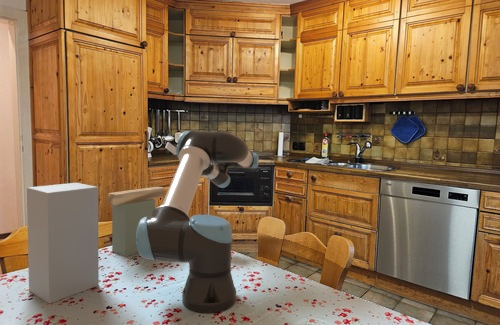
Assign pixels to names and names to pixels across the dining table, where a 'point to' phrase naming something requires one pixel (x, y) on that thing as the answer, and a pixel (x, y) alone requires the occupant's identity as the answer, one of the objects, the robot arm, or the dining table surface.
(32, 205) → the stand
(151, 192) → the tan wooden bar
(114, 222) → the sage green block
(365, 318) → the dining table surface
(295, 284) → the dining table surface
